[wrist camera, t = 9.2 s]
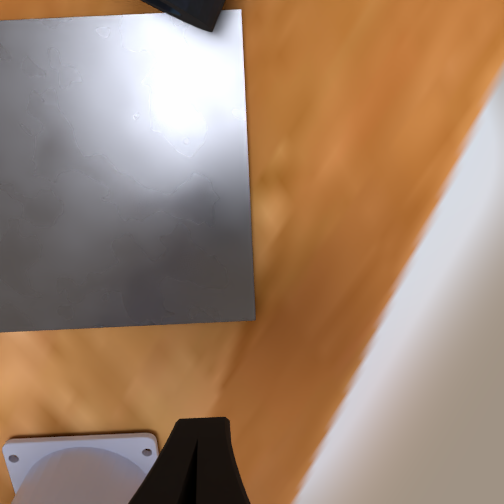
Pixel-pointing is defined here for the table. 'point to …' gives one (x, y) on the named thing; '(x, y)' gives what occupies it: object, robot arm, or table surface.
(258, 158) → the table surface
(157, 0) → the pipe connector
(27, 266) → the grey cradle rack
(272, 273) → the table surface
